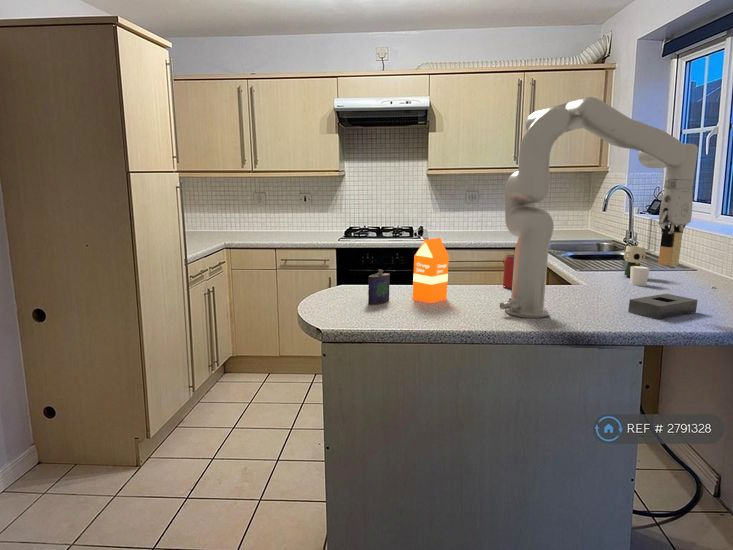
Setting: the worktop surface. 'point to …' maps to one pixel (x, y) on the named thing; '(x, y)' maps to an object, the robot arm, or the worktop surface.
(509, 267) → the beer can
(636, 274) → the white cube
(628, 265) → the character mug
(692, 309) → the grey slotted block
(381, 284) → the flask
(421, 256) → the orange juice
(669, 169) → the robot arm
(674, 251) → the brass peg
